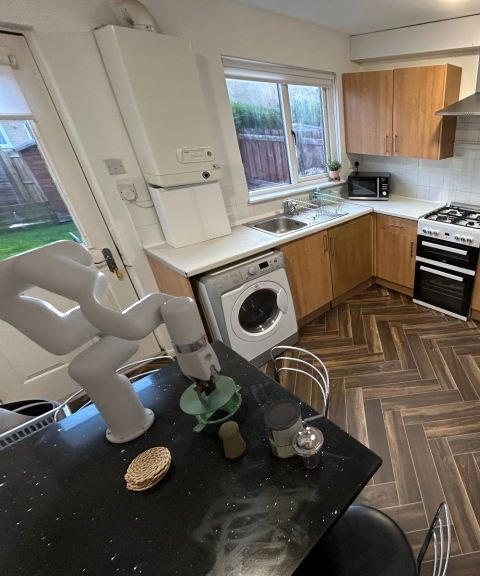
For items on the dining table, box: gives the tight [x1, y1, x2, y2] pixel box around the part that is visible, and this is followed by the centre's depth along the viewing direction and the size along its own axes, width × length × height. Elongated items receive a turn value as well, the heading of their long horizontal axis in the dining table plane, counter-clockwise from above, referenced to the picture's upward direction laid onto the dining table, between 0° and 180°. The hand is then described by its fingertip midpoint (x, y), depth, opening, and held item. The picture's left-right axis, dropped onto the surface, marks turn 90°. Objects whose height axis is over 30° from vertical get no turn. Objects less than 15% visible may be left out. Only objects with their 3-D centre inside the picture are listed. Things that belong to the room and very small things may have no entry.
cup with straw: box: [292, 413, 325, 469], centre depth 87 cm, size 8×9×20 cm
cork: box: [218, 421, 247, 459], centre depth 92 cm, size 6×6×11 cm
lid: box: [179, 375, 237, 416], centre depth 90 cm, size 15×15×6 cm
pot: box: [192, 384, 246, 436], centre depth 103 cm, size 14×19×6 cm
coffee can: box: [263, 398, 304, 459], centre depth 93 cm, size 10×10×14 cm
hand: (207, 391), depth 91 cm, fingers closed on lid
